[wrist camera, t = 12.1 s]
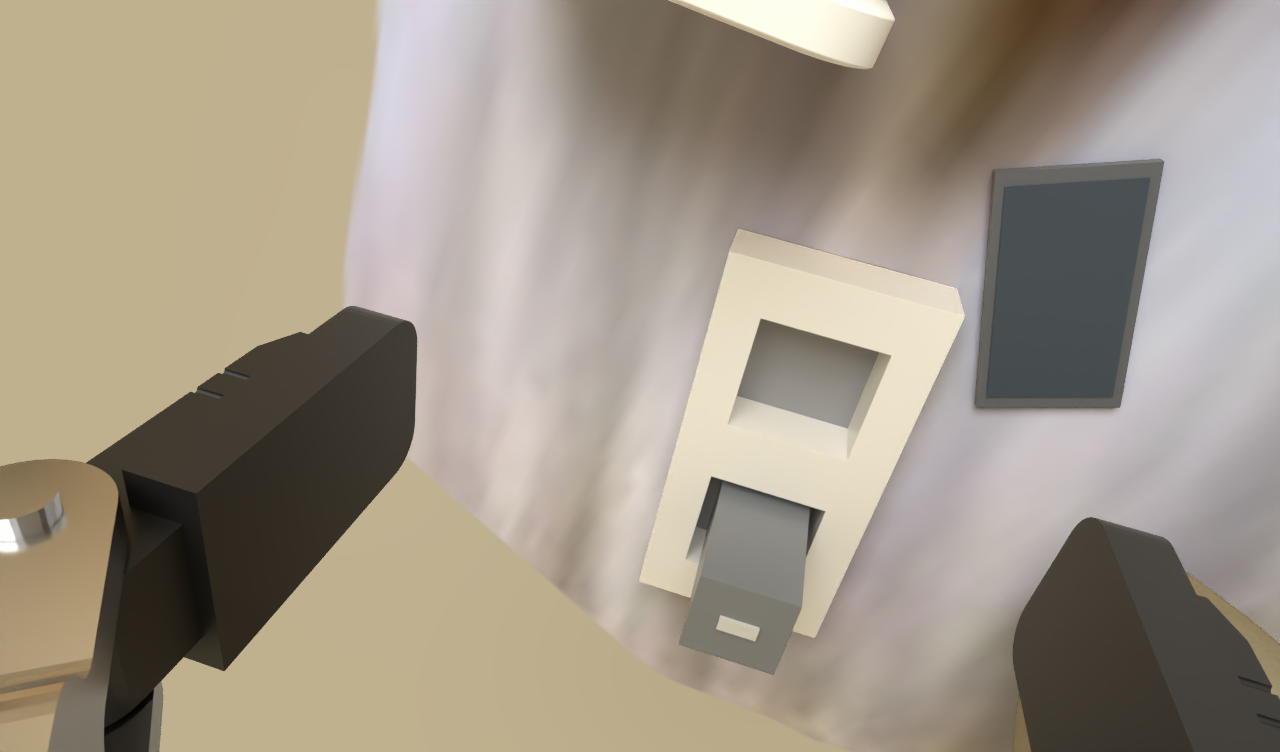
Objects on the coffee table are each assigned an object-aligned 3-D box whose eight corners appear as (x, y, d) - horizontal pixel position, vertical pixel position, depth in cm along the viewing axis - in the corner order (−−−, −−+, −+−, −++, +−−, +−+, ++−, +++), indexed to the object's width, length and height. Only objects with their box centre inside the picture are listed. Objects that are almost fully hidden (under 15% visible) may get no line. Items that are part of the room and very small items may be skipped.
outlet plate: (957, 288, 35) (965, 316, 32) (816, 598, 45) (814, 638, 43) (737, 228, 36) (729, 250, 33) (650, 545, 46) (638, 581, 44)
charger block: (811, 482, 41) (801, 610, 34) (787, 544, 44) (773, 678, 36) (728, 458, 42) (699, 579, 34) (709, 521, 44) (678, 647, 36)
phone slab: (1155, 155, 31) (1165, 162, 30) (1113, 396, 36) (1120, 408, 35) (991, 166, 33) (995, 173, 32) (973, 396, 38) (976, 408, 37)
